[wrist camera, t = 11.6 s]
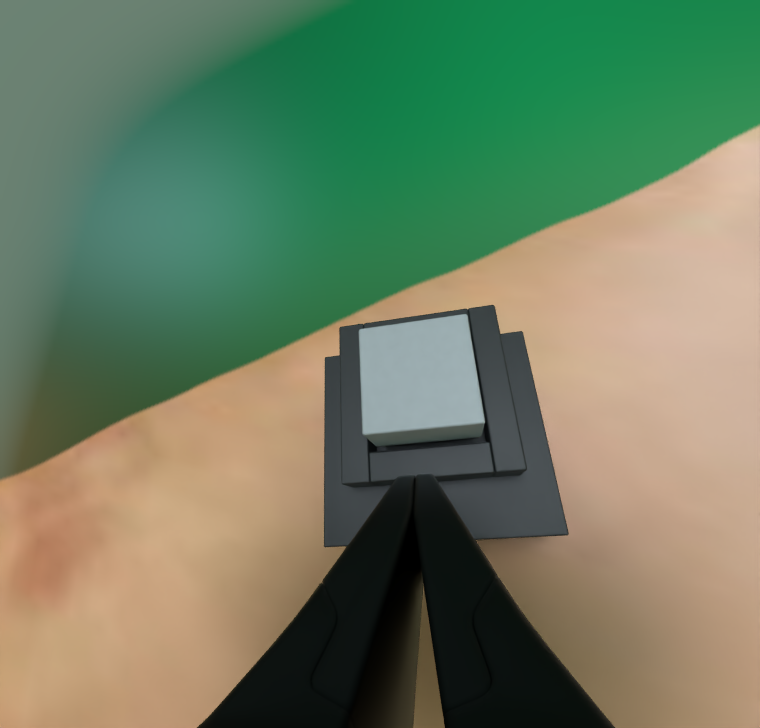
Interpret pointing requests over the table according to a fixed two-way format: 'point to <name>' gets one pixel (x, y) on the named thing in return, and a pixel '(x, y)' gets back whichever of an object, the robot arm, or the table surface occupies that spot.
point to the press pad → (419, 382)
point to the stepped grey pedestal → (447, 445)
